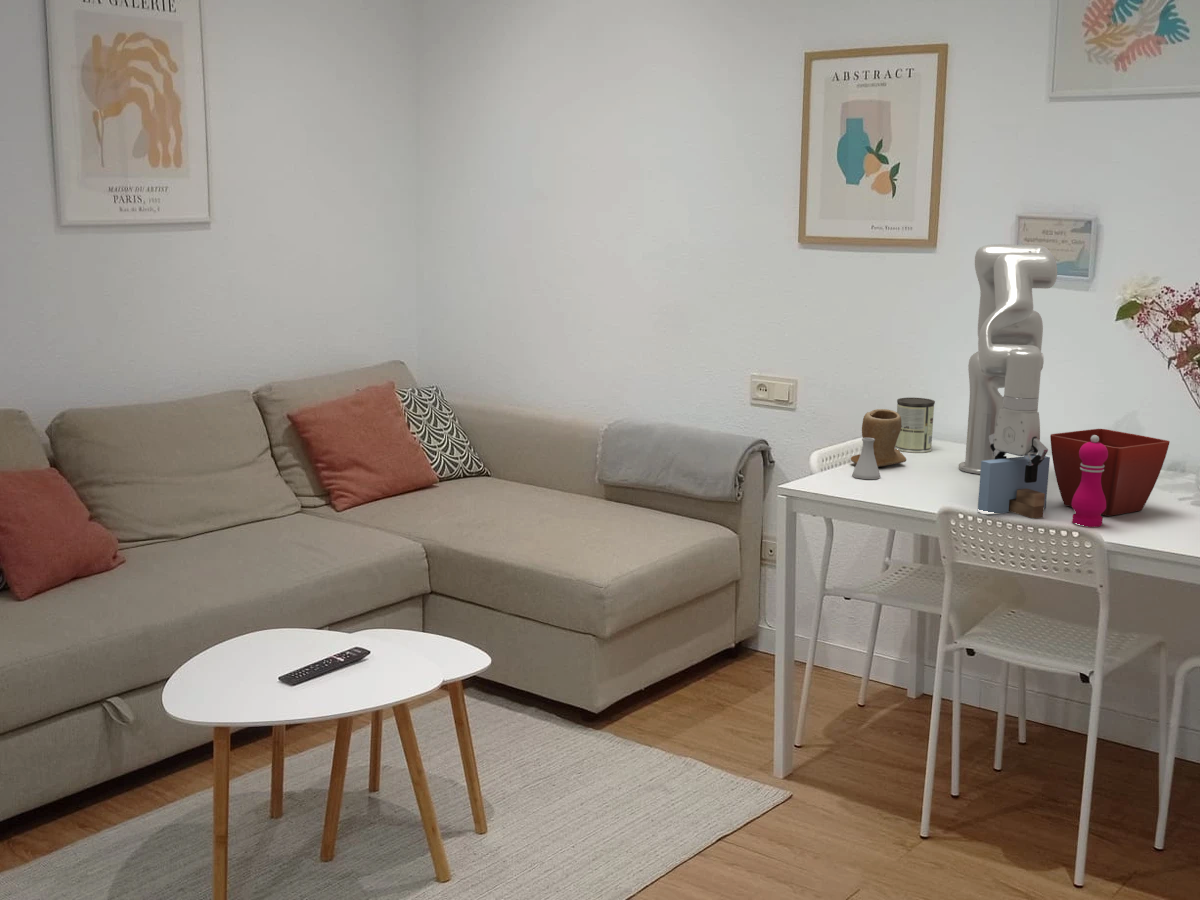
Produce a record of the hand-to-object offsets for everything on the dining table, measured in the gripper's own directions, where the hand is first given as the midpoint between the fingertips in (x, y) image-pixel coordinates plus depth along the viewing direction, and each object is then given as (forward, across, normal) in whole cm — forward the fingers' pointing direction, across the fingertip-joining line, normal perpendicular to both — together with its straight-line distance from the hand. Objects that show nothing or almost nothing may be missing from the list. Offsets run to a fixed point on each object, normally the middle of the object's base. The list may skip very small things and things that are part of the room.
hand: (1014, 477), depth 300 cm
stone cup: (+8, -52, +4) cm, 52 cm away
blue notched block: (+8, 0, 0) cm, 8 cm away
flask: (+8, -42, -9) cm, 43 cm away
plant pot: (+8, +7, +21) cm, 24 cm away
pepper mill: (+8, +16, +6) cm, 19 cm away
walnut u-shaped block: (+8, 0, 0) cm, 8 cm away
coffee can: (+8, -66, +26) cm, 71 cm away
